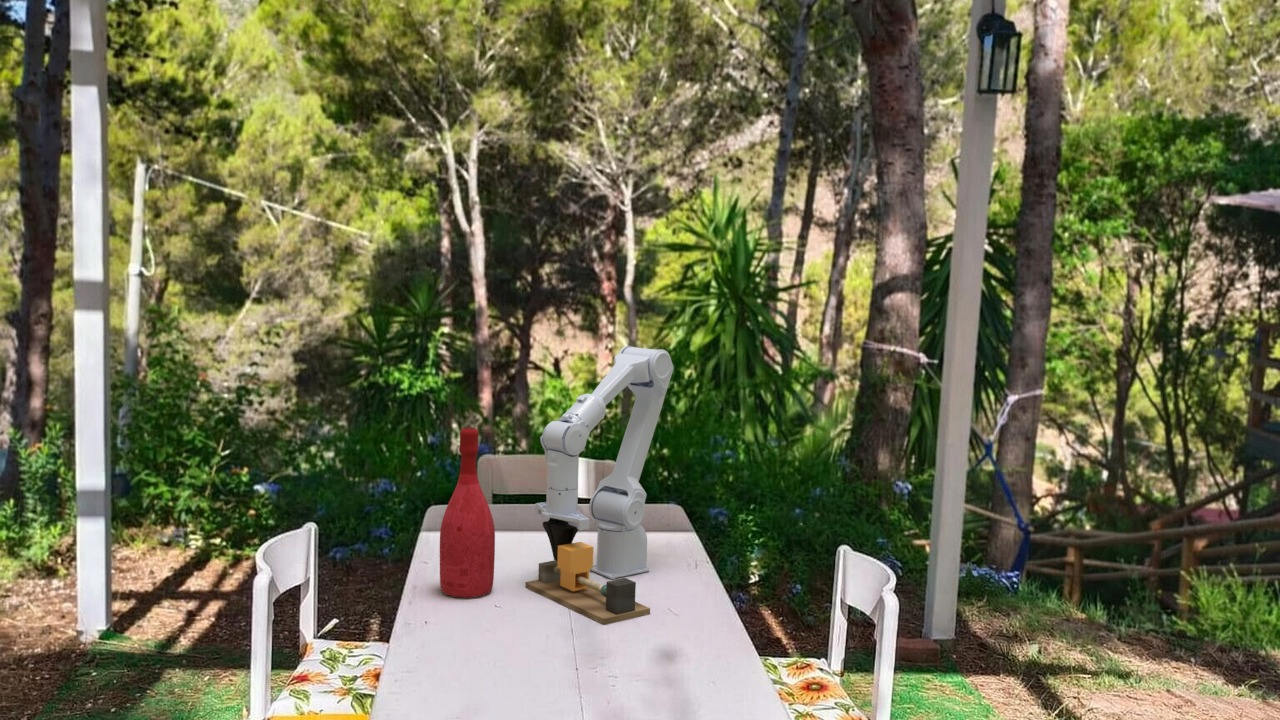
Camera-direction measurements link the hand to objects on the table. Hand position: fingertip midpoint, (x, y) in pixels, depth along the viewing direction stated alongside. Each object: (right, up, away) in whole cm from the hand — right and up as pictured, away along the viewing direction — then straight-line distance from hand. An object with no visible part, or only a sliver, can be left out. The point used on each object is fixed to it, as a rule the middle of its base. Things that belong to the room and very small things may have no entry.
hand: (560, 559), depth 205 cm
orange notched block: (+3, -4, -3) cm, 6 cm away
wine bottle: (-17, -5, -3) cm, 18 cm away
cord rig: (+5, -6, -6) cm, 10 cm away
